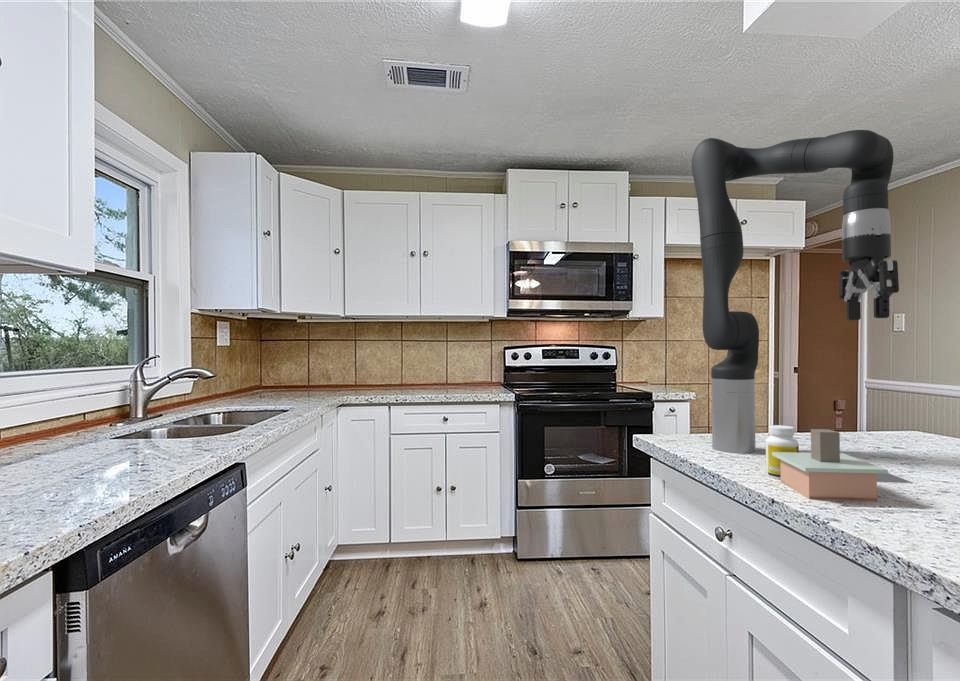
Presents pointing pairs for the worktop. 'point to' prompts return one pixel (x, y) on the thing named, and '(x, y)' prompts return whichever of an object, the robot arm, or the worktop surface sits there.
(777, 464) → the supplement bottle
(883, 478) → the mat
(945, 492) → the worktop surface
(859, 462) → the lid
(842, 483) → the dish
